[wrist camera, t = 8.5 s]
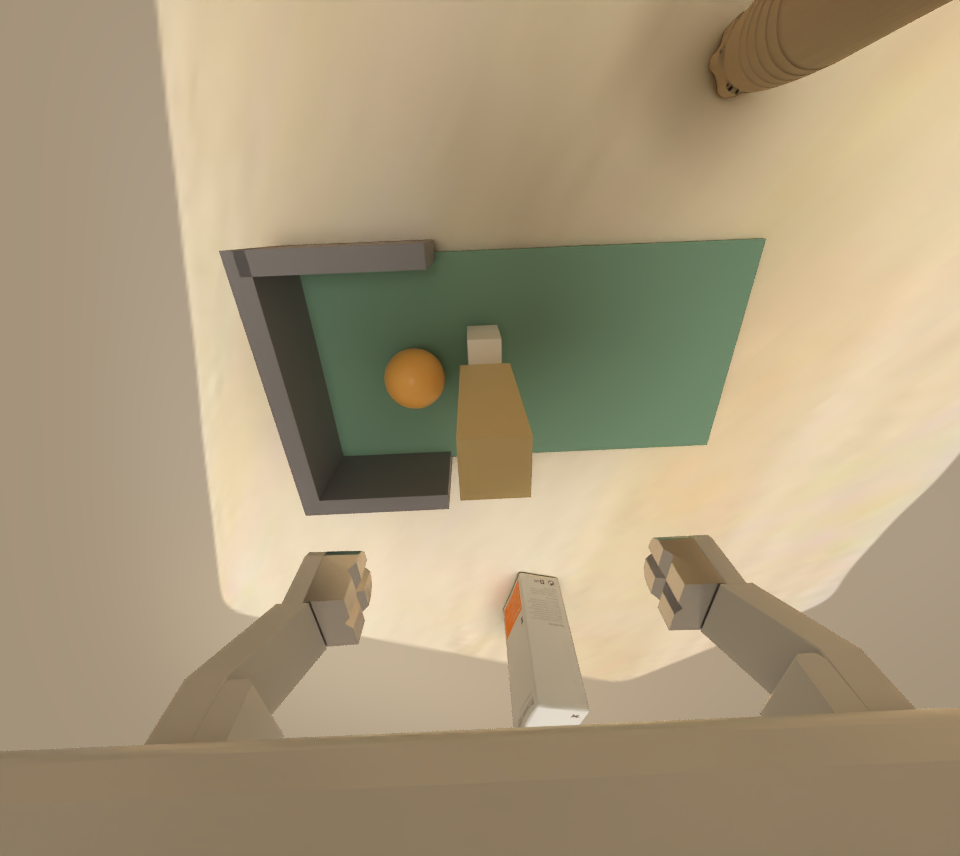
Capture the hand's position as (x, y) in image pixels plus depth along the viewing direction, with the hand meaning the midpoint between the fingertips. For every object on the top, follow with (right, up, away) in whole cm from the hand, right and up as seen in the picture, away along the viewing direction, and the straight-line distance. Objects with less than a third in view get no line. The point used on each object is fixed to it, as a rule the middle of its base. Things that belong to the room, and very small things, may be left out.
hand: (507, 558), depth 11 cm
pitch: (+2, +8, +17) cm, 19 cm away
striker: (-1, +8, +17) cm, 19 cm away
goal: (-8, +8, +16) cm, 20 cm away
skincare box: (+4, -13, +28) cm, 32 cm away
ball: (-5, +7, +14) cm, 17 cm away
